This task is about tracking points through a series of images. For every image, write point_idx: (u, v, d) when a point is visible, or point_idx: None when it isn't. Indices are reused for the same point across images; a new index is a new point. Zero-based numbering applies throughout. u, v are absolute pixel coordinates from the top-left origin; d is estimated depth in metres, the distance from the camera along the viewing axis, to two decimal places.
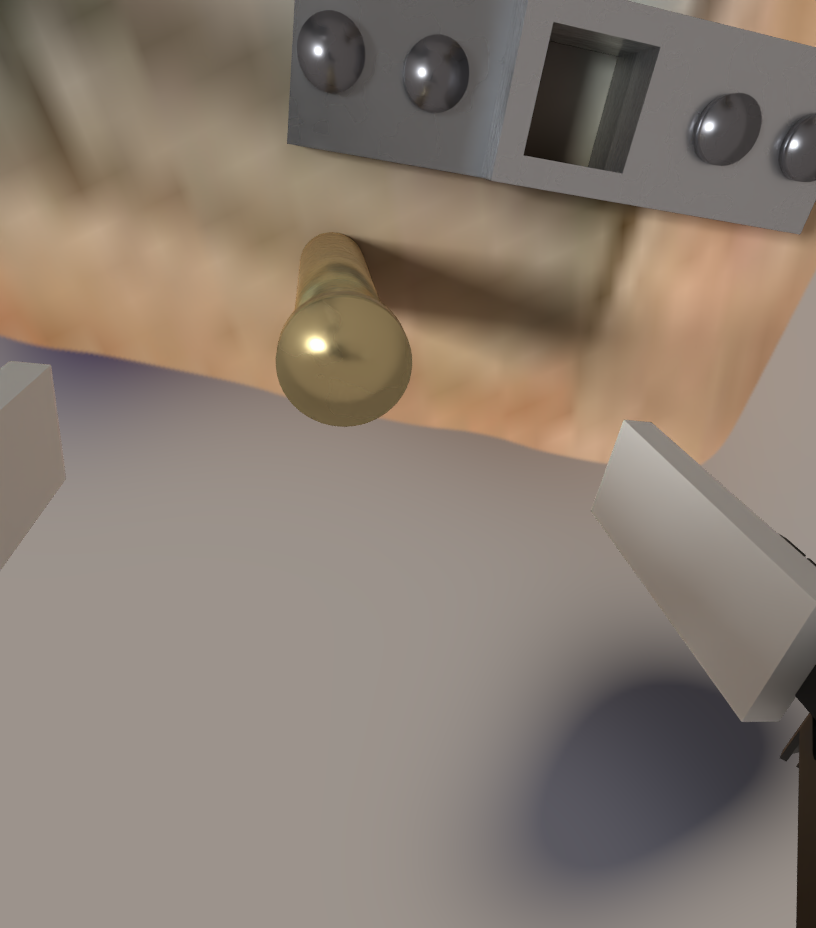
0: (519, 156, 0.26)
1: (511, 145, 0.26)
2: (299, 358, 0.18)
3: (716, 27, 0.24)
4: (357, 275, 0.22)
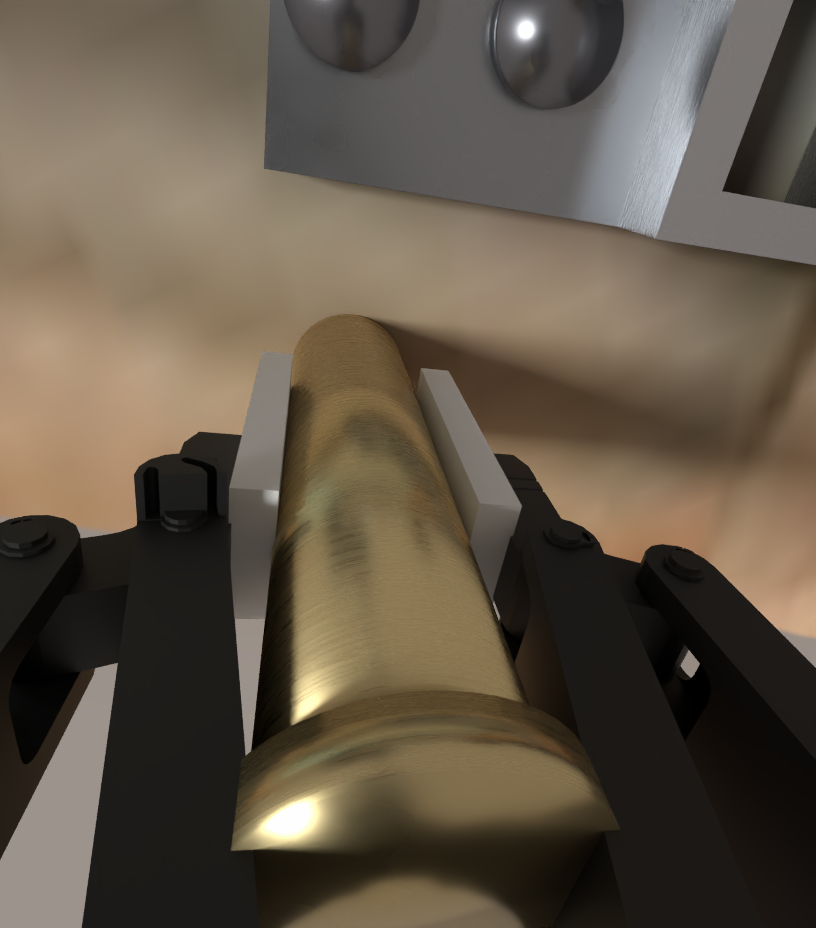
0: (714, 193, 0.13)
1: (702, 172, 0.13)
2: (267, 916, 0.05)
3: None
4: (415, 475, 0.10)
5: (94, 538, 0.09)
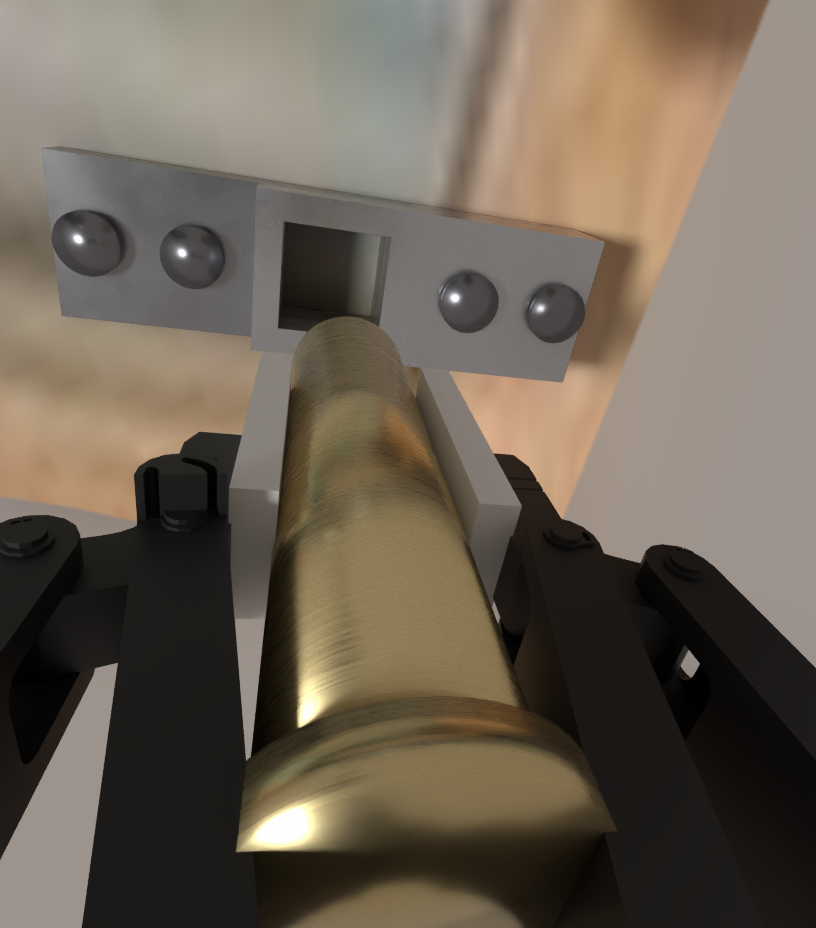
0: (274, 329, 0.28)
1: (264, 320, 0.28)
2: (267, 921, 0.05)
3: (442, 219, 0.27)
4: (414, 478, 0.10)
5: (94, 538, 0.09)
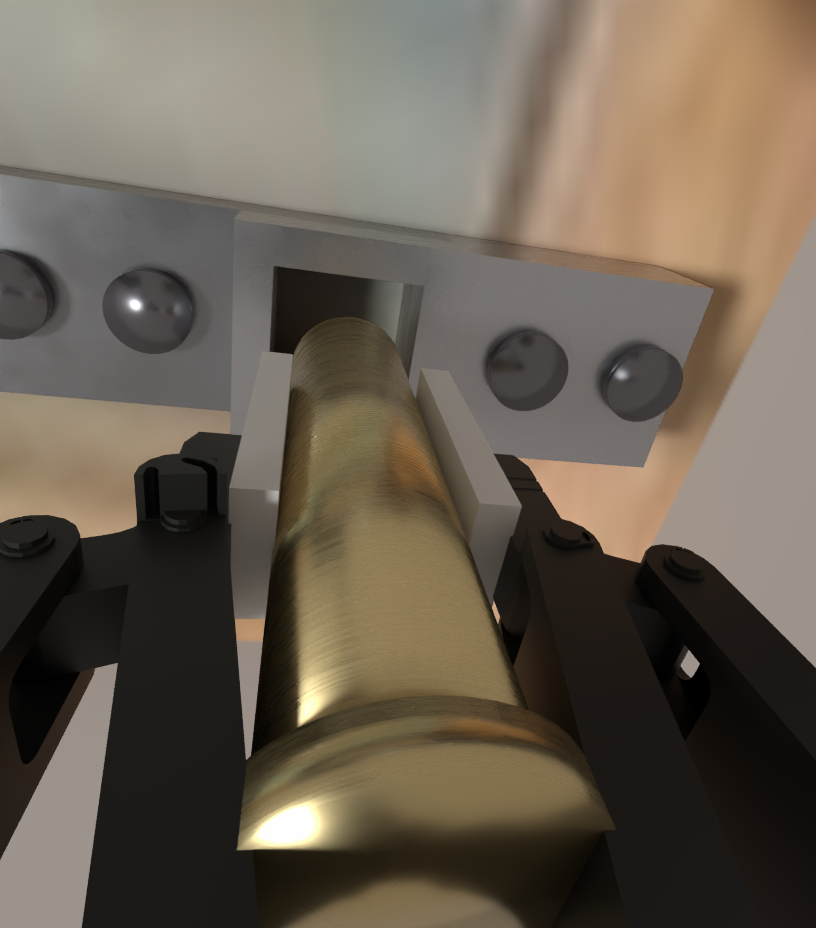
0: None
1: (248, 398, 0.20)
2: (267, 919, 0.05)
3: (495, 261, 0.19)
4: (414, 478, 0.10)
5: (94, 538, 0.09)
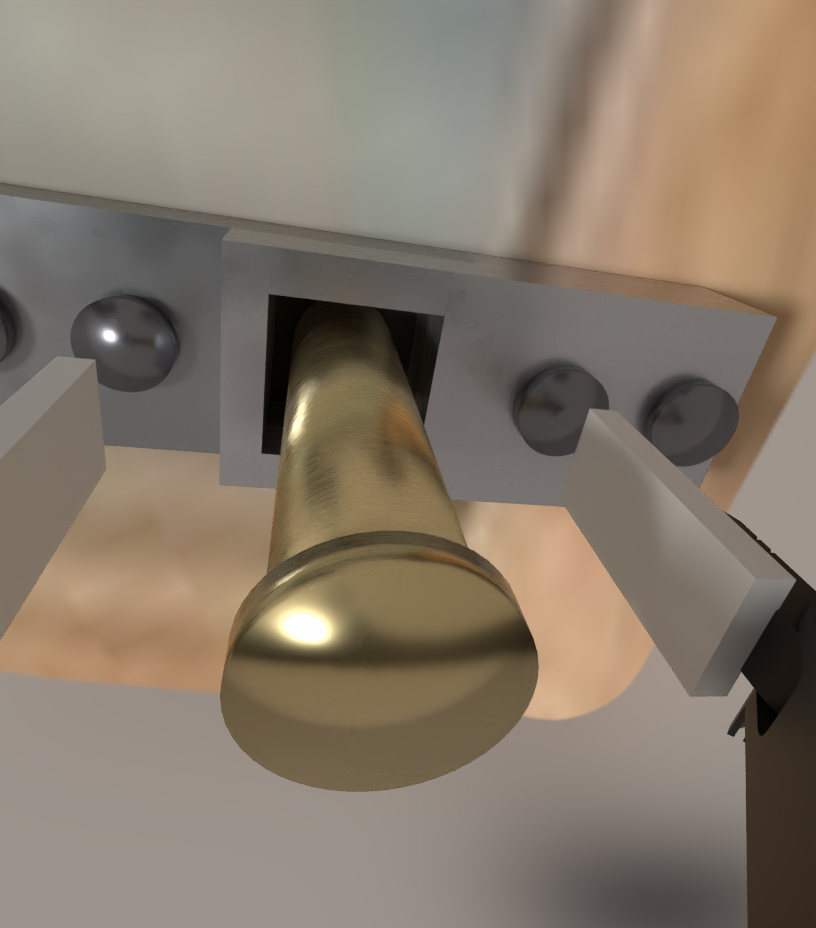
0: (255, 455, 0.18)
1: (240, 443, 0.18)
2: (277, 691, 0.08)
3: (527, 287, 0.16)
4: (394, 413, 0.12)
5: None
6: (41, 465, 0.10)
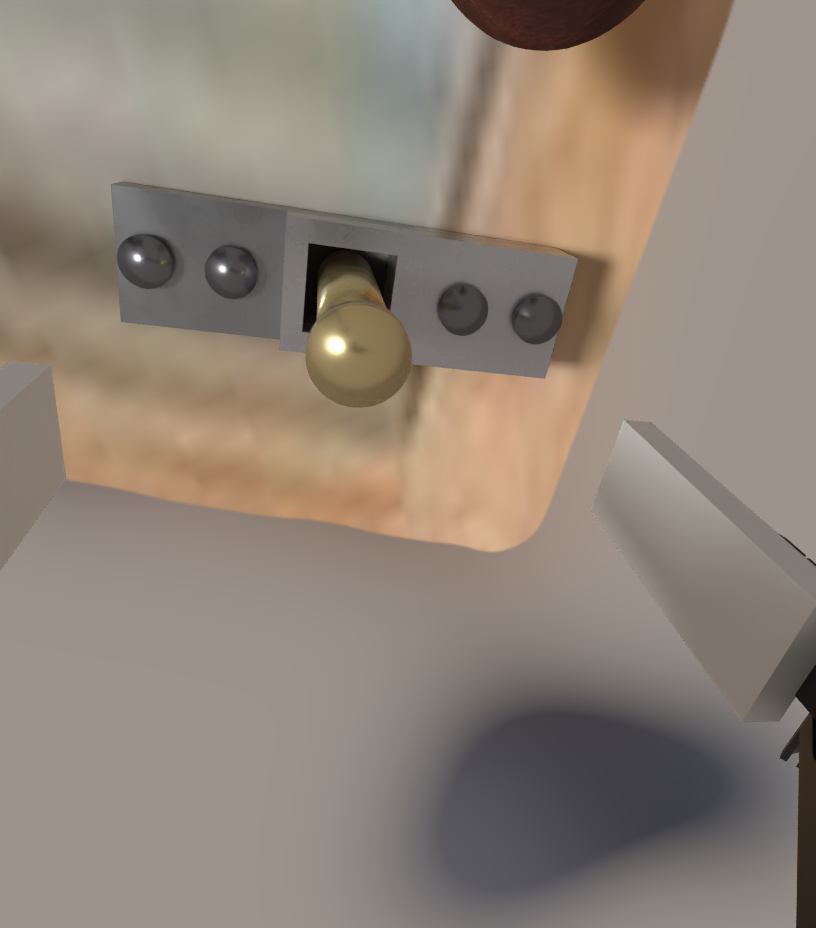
0: (299, 332, 0.33)
1: (291, 325, 0.33)
2: (324, 352, 0.23)
3: (440, 241, 0.32)
4: (368, 287, 0.28)
5: None
6: None
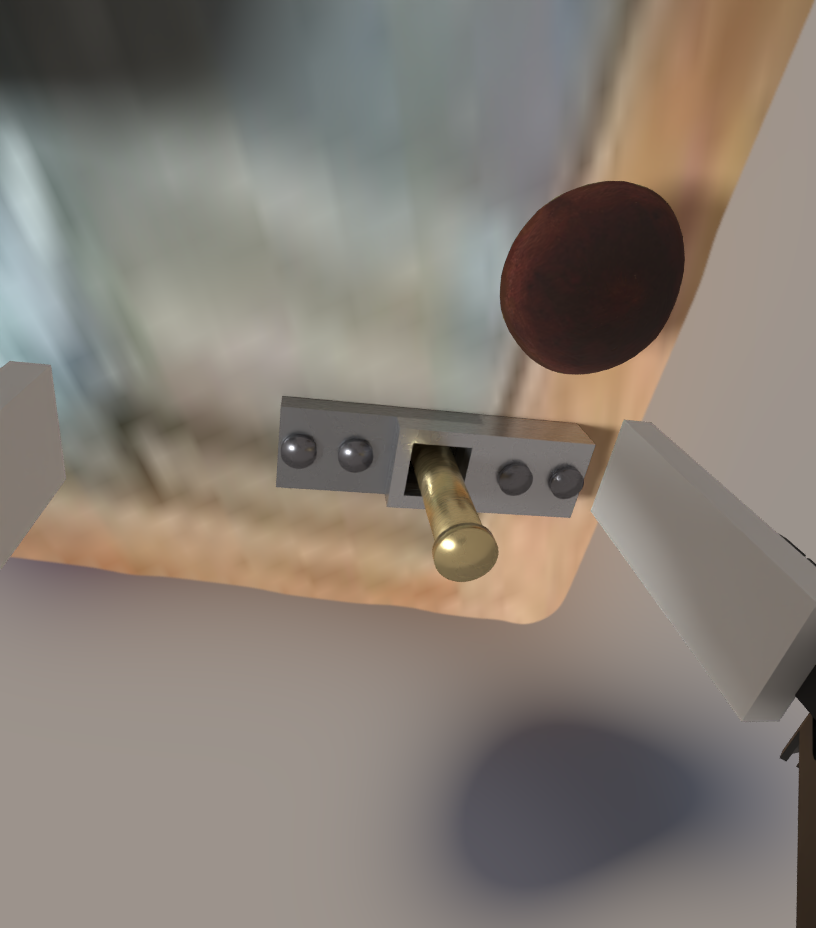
0: (401, 496, 0.48)
1: (396, 492, 0.48)
2: (445, 554, 0.38)
3: (501, 438, 0.47)
4: (461, 490, 0.42)
5: None
6: None
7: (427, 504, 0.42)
